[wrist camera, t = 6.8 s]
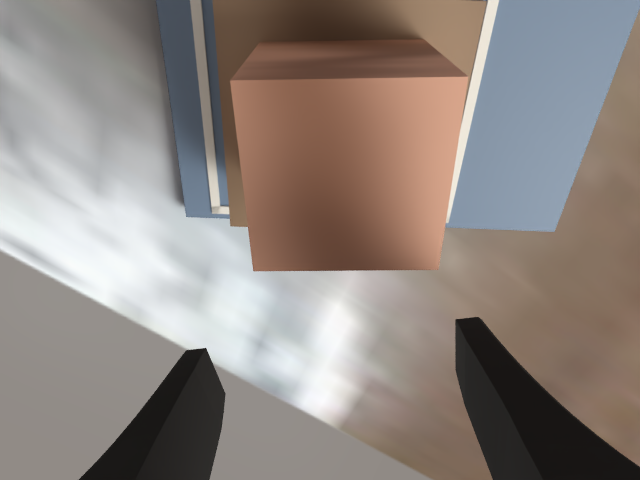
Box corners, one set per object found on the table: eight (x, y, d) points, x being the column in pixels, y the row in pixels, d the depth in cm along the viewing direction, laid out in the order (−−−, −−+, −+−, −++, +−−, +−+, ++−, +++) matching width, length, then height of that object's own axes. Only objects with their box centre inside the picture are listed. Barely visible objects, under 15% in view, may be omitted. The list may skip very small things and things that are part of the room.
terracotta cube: (423, 39, 13) (468, 76, 9) (409, 188, 16) (438, 270, 12) (259, 41, 14) (229, 80, 9) (271, 189, 16) (253, 270, 12)
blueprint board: (710, -220, 14) (732, -230, 13) (547, 223, 22) (555, 232, 22) (129, -251, 14) (117, -263, 13) (190, 208, 22) (185, 217, 21)
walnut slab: (453, -8, 16) (486, 1, 13) (418, 188, 21) (436, 234, 17) (235, -19, 16) (211, -12, 13) (246, 181, 20) (230, 226, 17)
